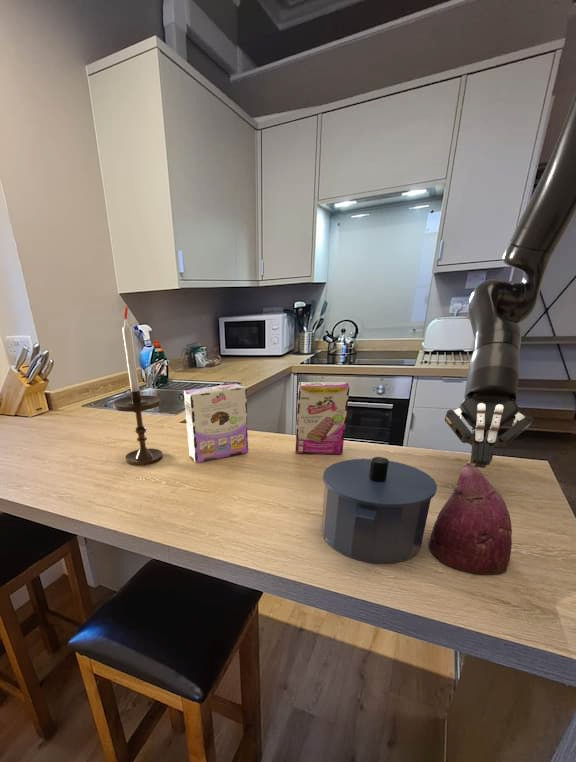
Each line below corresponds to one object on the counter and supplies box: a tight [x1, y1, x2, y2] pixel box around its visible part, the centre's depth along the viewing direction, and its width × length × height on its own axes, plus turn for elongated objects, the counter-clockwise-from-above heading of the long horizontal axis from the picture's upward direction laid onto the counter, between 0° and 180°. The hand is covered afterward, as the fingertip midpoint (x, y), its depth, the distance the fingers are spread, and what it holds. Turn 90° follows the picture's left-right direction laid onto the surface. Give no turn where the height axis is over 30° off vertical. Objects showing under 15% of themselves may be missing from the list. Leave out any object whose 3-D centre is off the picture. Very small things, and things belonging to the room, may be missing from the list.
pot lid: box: [322, 456, 438, 507], centre depth 58 cm, size 16×16×4 cm
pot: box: [320, 484, 432, 565], centre depth 60 cm, size 15×20×10 cm
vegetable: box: [428, 460, 513, 575], centre depth 55 cm, size 10×10×15 cm
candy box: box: [183, 383, 249, 464], centre depth 93 cm, size 14×6×16 cm, turn 111°
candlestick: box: [112, 303, 164, 467], centre depth 90 cm, size 11×11×35 cm
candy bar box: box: [295, 381, 350, 455], centre depth 92 cm, size 11×5×16 cm, turn 80°
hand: (480, 465), depth 65 cm, fingers closed
